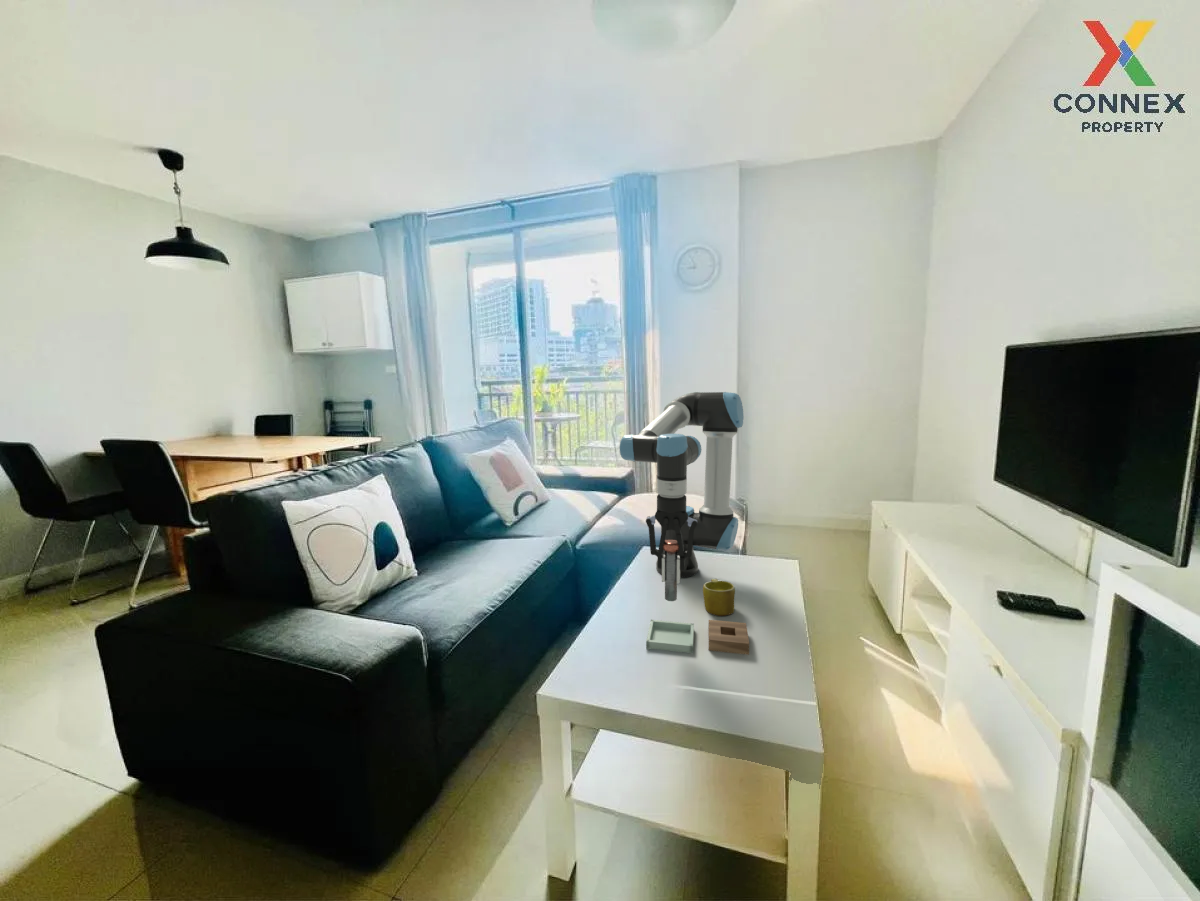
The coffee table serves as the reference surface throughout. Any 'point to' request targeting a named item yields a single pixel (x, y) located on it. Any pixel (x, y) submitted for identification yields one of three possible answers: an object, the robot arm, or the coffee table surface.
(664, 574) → the robot arm
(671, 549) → the pin
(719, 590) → the mug
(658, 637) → the tray
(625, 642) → the coffee table surface
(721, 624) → the socket block
